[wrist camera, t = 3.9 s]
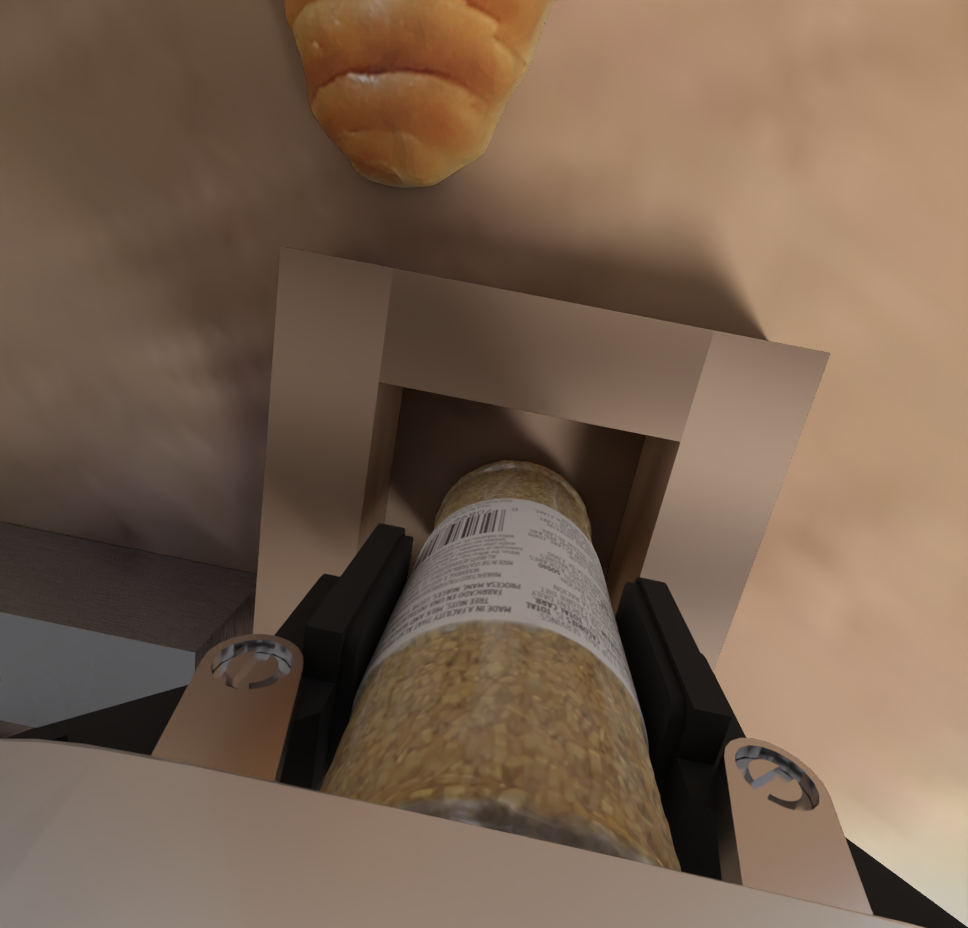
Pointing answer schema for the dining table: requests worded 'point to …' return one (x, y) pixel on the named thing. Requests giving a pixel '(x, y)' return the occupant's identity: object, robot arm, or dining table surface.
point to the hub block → (105, 623)
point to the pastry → (413, 78)
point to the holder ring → (529, 387)
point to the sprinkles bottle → (508, 681)
